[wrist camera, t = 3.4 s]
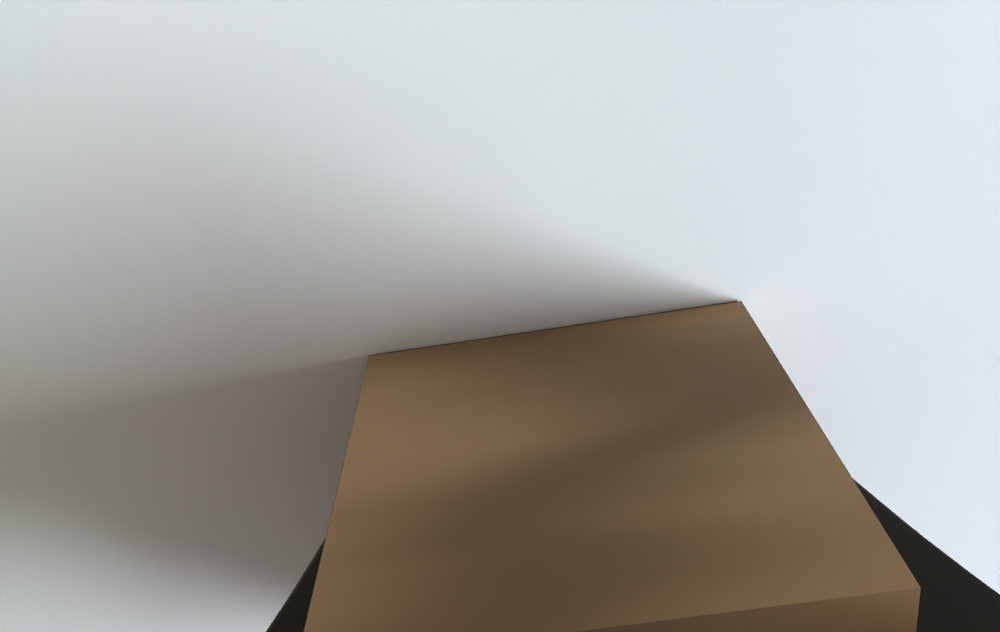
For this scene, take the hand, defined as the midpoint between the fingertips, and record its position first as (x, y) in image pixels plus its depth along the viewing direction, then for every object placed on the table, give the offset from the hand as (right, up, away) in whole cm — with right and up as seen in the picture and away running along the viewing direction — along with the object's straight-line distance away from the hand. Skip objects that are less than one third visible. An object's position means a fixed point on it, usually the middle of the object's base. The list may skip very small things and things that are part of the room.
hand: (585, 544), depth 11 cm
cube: (0, +1, +1) cm, 1 cm away
